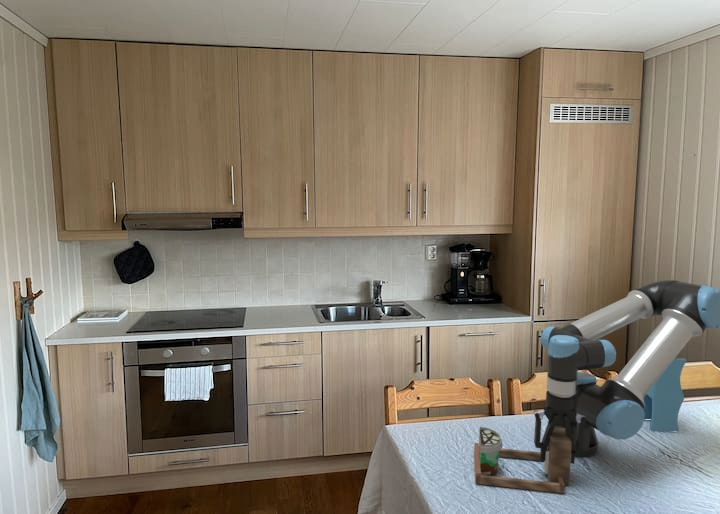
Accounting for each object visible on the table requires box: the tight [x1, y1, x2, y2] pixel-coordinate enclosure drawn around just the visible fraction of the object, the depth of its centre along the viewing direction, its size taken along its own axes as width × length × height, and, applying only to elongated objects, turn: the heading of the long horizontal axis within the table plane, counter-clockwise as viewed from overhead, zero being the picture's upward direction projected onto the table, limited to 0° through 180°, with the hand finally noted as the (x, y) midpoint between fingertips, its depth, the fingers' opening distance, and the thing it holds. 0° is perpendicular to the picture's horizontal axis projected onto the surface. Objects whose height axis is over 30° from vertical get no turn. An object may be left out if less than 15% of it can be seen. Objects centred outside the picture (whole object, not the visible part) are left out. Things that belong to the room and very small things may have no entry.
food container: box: [478, 426, 503, 476], centre depth 146 cm, size 12×6×10 cm, turn 169°
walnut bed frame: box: [473, 426, 572, 494], centre depth 144 cm, size 25×17×12 cm
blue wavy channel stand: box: [643, 357, 687, 432], centre depth 174 cm, size 10×10×25 cm
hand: (556, 472), depth 143 cm, fingers closed on walnut bed frame, 5 cm apart
